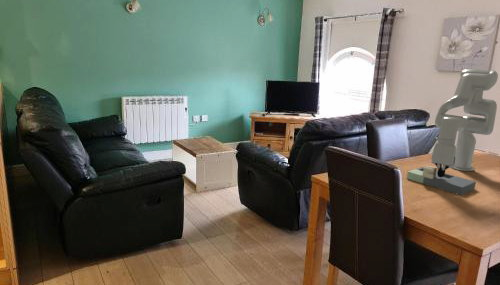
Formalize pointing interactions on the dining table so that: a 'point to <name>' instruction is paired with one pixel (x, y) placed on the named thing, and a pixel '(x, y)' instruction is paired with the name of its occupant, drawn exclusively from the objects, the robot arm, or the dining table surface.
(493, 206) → the dining table surface
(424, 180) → the board
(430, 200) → the dining table surface
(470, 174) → the dining table surface
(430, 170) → the maple block
